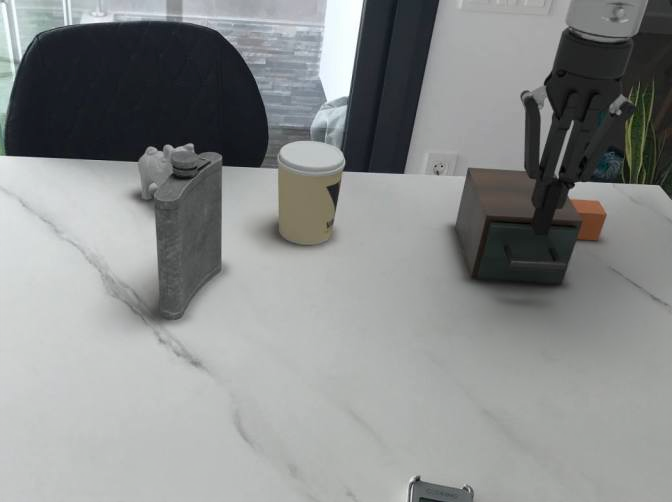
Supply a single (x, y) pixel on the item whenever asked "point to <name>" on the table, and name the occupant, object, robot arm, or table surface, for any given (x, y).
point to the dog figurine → (157, 166)
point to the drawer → (526, 252)
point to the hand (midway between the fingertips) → (539, 230)
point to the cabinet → (499, 210)
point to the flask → (188, 229)
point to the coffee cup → (308, 190)
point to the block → (590, 218)
